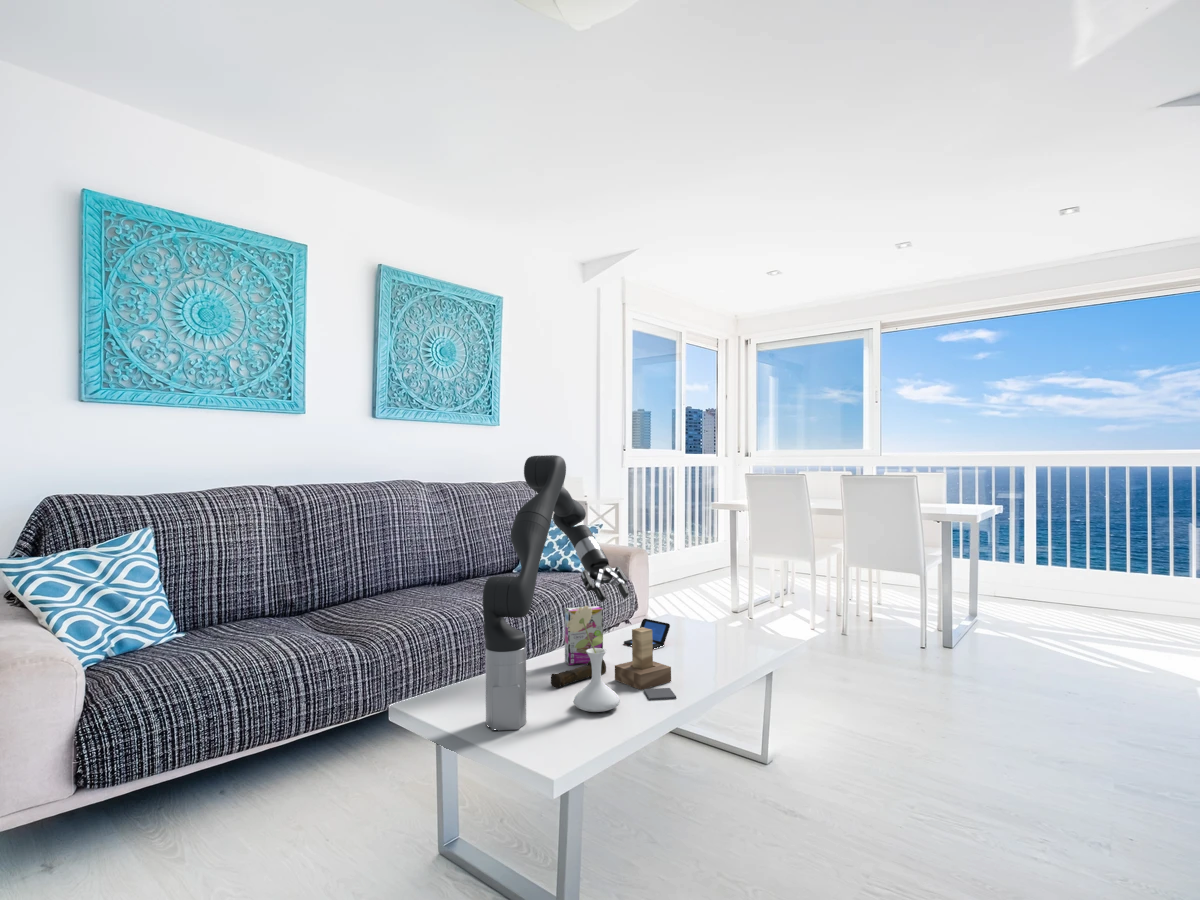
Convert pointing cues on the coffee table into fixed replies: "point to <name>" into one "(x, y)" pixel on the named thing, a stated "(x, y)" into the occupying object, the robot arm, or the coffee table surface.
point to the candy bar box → (582, 636)
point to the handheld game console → (654, 632)
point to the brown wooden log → (574, 675)
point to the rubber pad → (659, 693)
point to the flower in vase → (596, 691)
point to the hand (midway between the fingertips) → (615, 598)
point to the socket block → (642, 675)
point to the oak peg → (642, 648)
